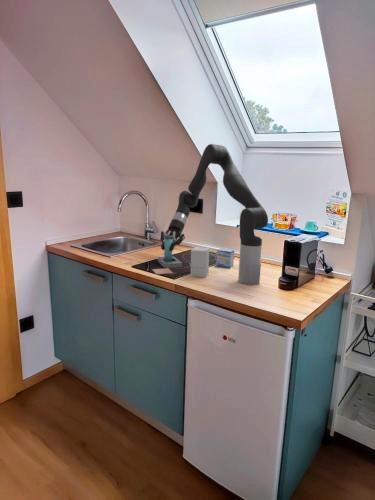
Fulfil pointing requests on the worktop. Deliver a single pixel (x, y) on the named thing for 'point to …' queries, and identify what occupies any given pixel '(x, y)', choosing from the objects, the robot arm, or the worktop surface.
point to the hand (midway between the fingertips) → (166, 249)
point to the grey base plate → (172, 264)
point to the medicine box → (225, 258)
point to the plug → (167, 248)
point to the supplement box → (199, 262)
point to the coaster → (162, 271)
